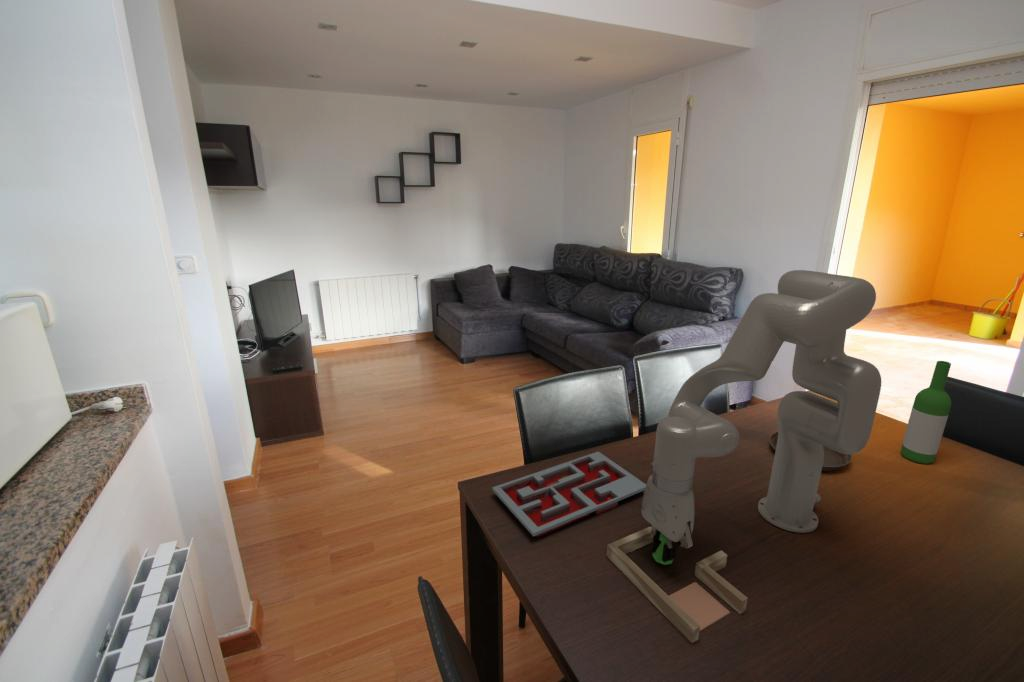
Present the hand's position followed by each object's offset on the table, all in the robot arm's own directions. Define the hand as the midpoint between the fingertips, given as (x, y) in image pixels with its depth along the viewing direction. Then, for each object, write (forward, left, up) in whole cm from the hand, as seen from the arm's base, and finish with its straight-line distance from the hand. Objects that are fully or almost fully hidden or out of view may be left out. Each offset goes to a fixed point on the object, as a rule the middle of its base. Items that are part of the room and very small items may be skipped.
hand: (663, 554), depth 96 cm
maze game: (+4, -28, -3) cm, 29 cm away
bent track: (-1, +5, -2) cm, 5 cm away
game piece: (0, 0, -1) cm, 1 cm away
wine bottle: (-97, +5, -2) cm, 97 cm away
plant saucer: (-70, -11, -3) cm, 71 cm away
